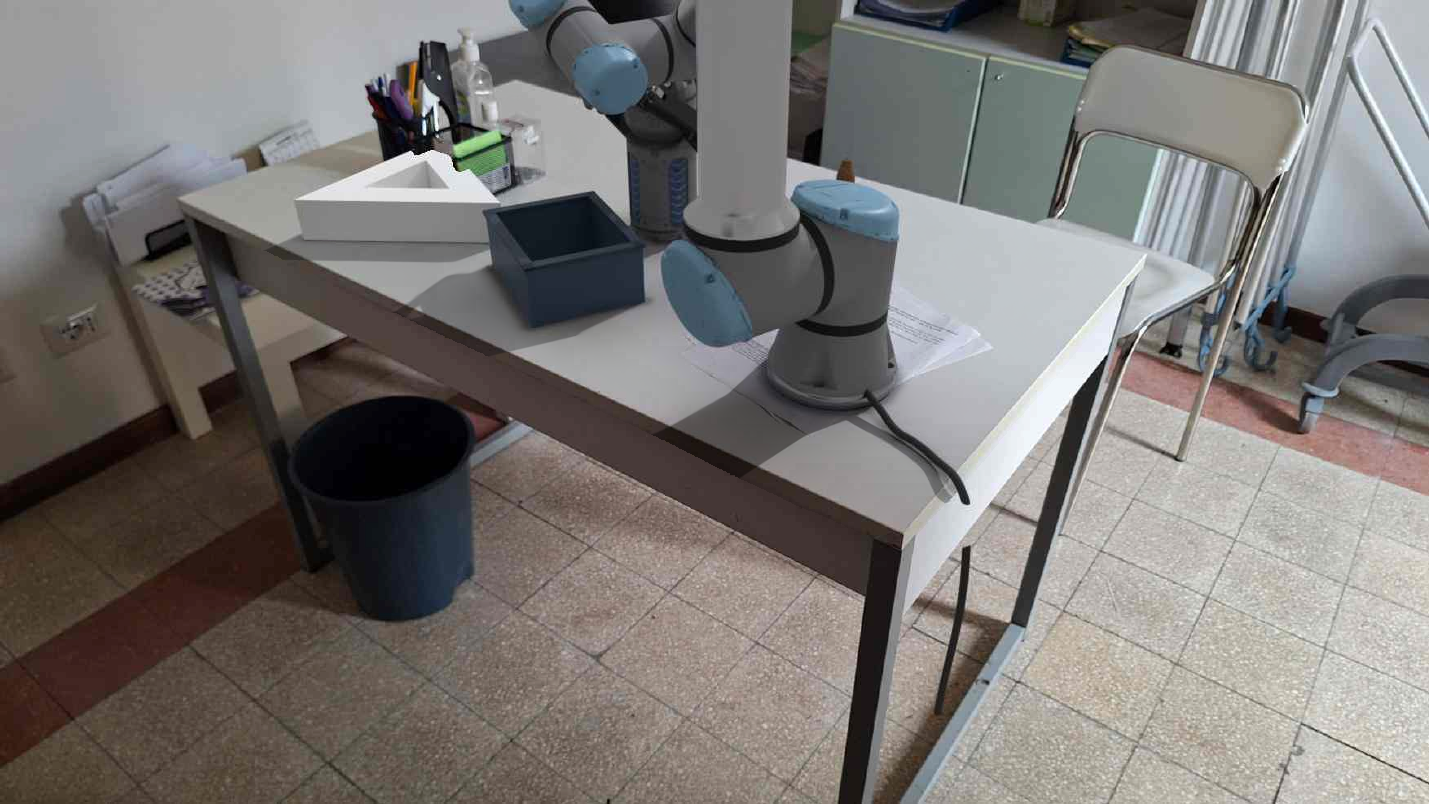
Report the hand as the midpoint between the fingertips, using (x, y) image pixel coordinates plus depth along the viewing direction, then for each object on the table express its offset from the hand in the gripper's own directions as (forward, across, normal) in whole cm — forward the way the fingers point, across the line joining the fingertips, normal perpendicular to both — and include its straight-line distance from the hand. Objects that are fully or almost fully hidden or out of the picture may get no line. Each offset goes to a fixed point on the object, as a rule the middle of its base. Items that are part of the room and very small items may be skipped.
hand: (668, 140), depth 145 cm
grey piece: (+8, 0, +11) cm, 14 cm away
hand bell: (+11, -28, +8) cm, 31 cm away
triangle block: (-5, +29, +24) cm, 38 cm away
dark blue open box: (-8, 0, +26) cm, 28 cm away
